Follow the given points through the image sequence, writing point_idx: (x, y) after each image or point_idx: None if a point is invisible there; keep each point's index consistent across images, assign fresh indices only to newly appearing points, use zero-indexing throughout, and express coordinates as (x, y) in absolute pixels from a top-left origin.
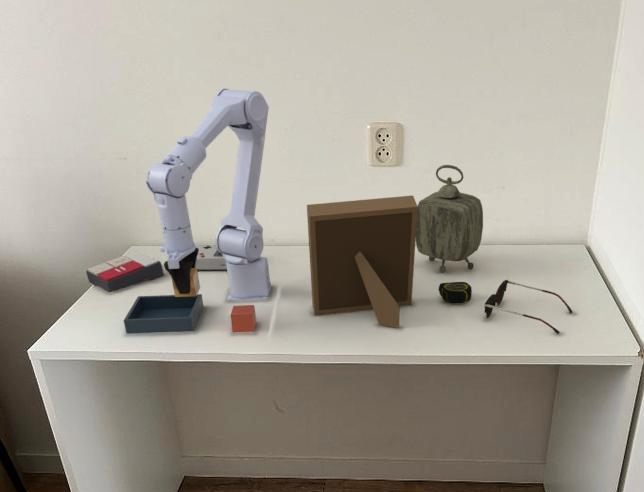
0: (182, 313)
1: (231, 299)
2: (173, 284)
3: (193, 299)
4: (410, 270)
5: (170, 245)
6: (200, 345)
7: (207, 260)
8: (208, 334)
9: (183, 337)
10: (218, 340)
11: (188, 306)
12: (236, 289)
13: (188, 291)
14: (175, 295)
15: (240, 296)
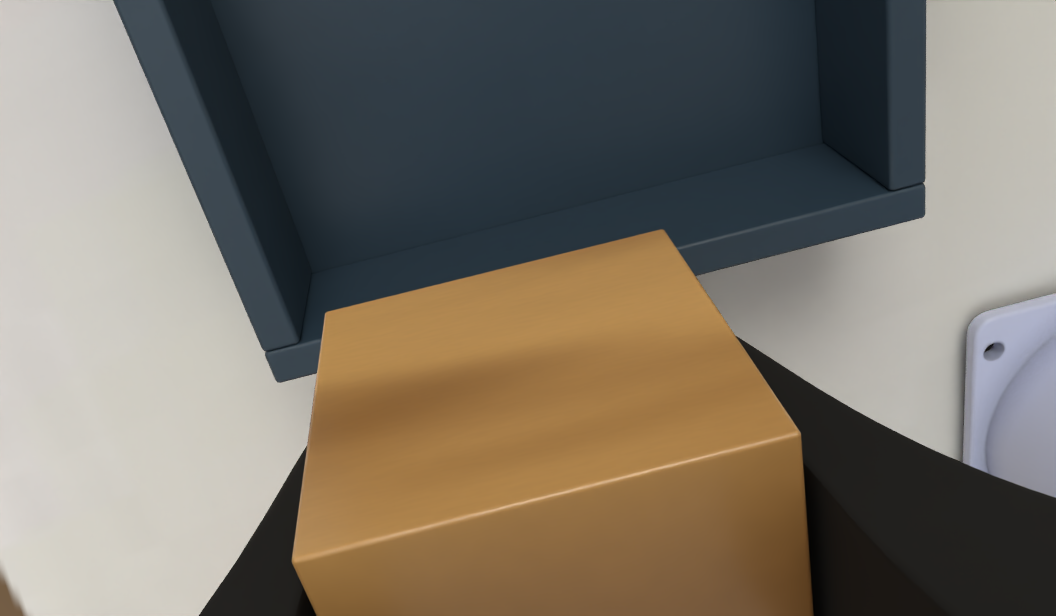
0: (671, 8)
1: (977, 360)
2: (306, 457)
3: (862, 117)
4: None
5: None
6: (88, 447)
7: None
8: (307, 422)
9: (179, 239)
10: (227, 534)
11: (822, 22)
12: (1054, 449)
13: None
14: (323, 334)
15: (1000, 435)
